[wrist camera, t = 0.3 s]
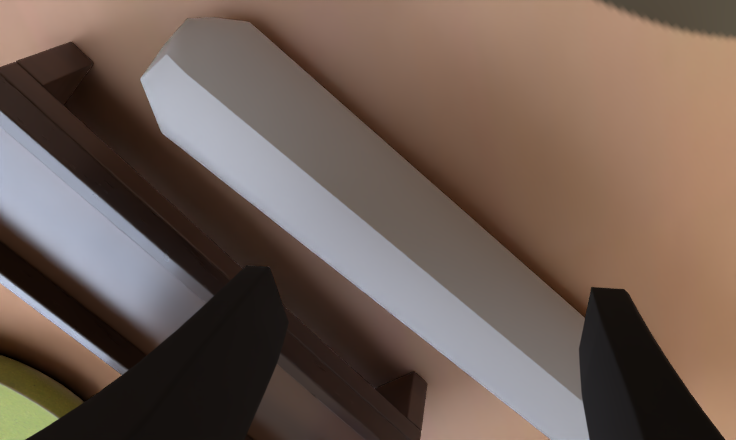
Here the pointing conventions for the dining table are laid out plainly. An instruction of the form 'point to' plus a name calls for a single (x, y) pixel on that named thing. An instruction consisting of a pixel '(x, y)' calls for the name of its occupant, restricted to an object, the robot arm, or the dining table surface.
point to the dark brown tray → (148, 264)
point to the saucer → (30, 400)
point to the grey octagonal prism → (368, 215)
